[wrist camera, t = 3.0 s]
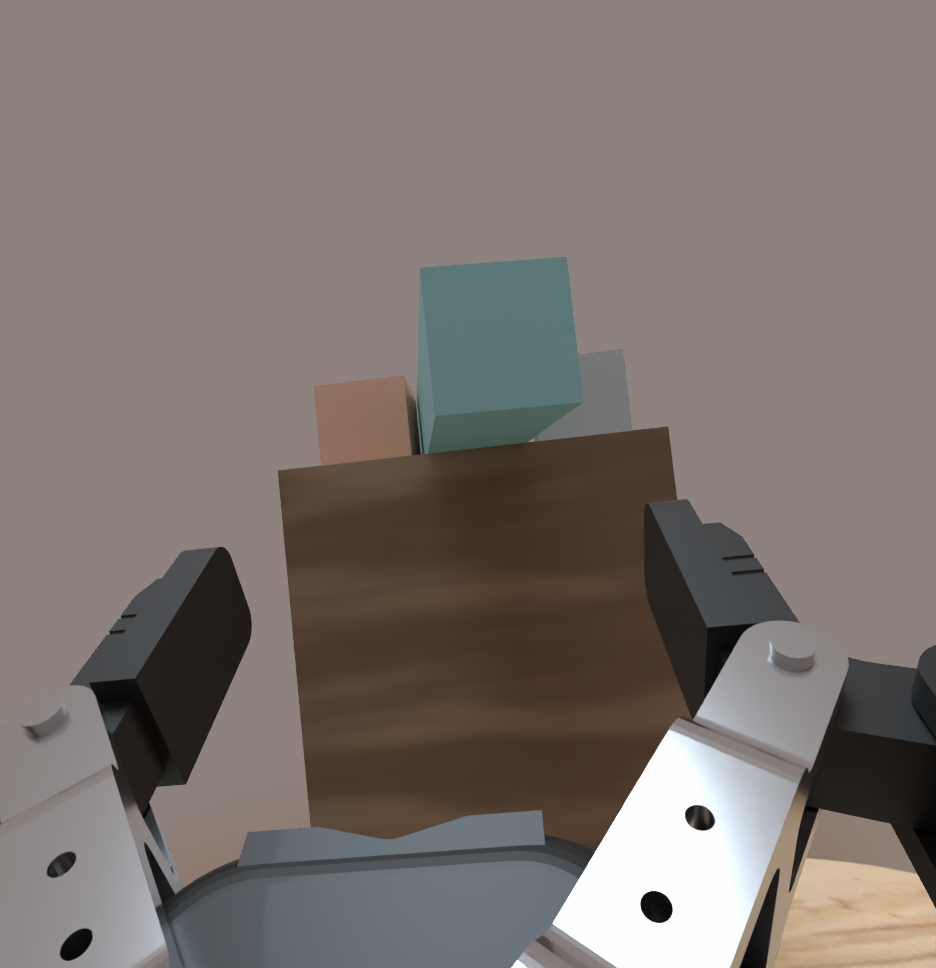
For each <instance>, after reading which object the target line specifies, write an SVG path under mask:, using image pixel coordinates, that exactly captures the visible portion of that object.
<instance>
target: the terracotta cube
mask: <svg viewBox="0 0 936 968" xmlns="http://www.w3.org/2000/svg"><path fill="white" fill-rule="evenodd" d="M314 394H315V405H316V415H317V427H318V437H319V447H320V458H321V466H324V465H332V464H341V463H350V462H359V461H368V460H377V459H385V458H394V457H403V456H412V455H421V448H420V438H419V428H418V419H417V409H416V399H415V392H414V391H413V389H412V388H411V386H410V385H409V383H408V382H407V380H406V379H405V377H404V376H398V377H389V378H381V379H372V380H364V381H355V382H346V383H337V384H328V385H320V386H314Z"/></svg>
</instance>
